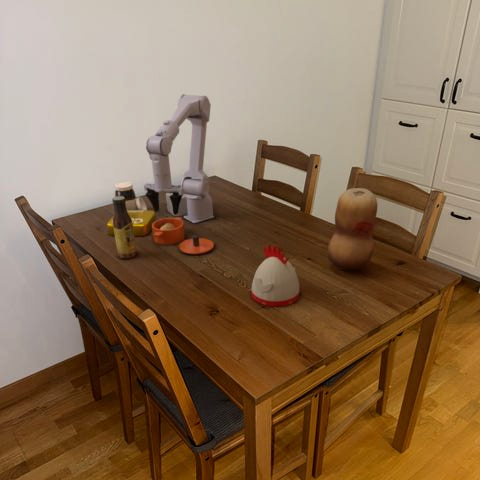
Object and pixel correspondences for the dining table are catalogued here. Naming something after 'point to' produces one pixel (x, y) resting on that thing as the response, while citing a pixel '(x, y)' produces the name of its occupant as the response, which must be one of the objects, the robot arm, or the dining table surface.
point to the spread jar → (129, 196)
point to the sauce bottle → (123, 229)
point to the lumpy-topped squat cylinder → (182, 205)
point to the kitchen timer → (275, 280)
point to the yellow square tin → (138, 222)
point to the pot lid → (196, 245)
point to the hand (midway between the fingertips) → (166, 212)
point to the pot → (168, 231)
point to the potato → (167, 226)
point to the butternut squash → (353, 229)
